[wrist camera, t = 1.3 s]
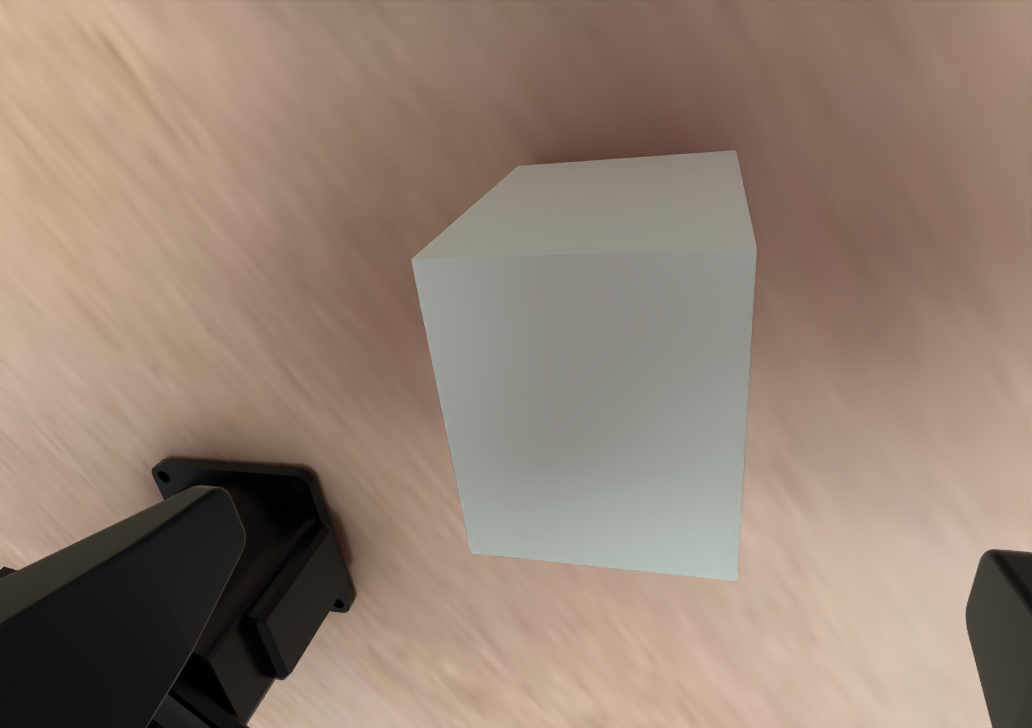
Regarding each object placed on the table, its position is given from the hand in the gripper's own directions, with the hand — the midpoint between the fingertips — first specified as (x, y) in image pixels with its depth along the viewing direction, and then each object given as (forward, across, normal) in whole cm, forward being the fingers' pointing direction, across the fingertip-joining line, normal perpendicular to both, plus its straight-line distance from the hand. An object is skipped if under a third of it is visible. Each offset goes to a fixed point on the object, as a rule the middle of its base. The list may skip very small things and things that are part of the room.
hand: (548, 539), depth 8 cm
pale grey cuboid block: (+9, 0, 0) cm, 9 cm away
